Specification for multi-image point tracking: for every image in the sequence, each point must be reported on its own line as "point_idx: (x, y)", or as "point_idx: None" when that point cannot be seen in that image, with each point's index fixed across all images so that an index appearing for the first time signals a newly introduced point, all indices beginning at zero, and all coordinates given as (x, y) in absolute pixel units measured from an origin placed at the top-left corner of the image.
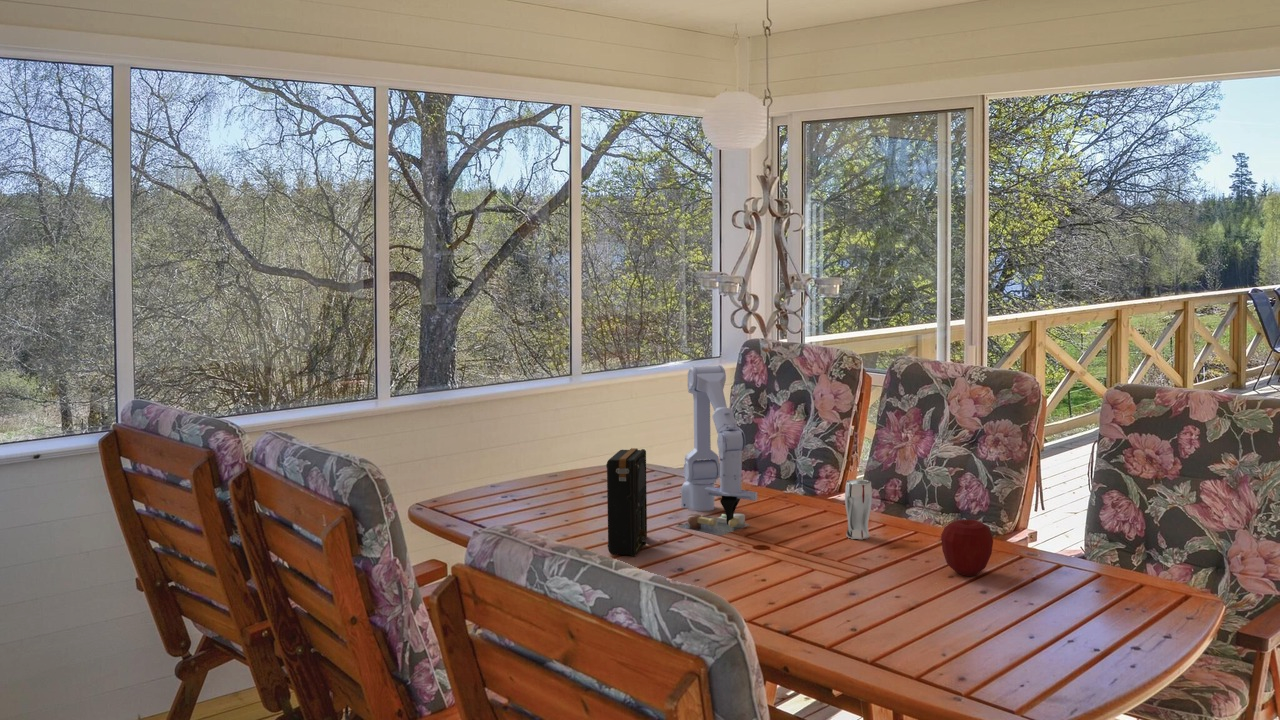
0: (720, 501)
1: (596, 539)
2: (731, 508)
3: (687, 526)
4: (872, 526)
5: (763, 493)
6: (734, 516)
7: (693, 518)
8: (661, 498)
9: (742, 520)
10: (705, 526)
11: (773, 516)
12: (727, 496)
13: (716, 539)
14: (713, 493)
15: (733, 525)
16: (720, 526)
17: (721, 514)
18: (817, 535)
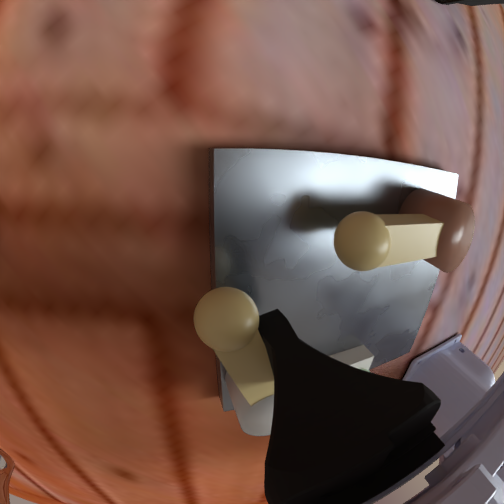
0: (430, 390)
1: (486, 9)
2: (277, 411)
3: None
4: (55, 494)
5: None
6: None
7: (452, 206)
8: (477, 351)
9: (235, 401)
10: None
11: (252, 471)
12: (392, 484)
13: (239, 145)
14: (499, 401)
15: (200, 301)
16: (325, 308)
17: None
18: (27, 440)
